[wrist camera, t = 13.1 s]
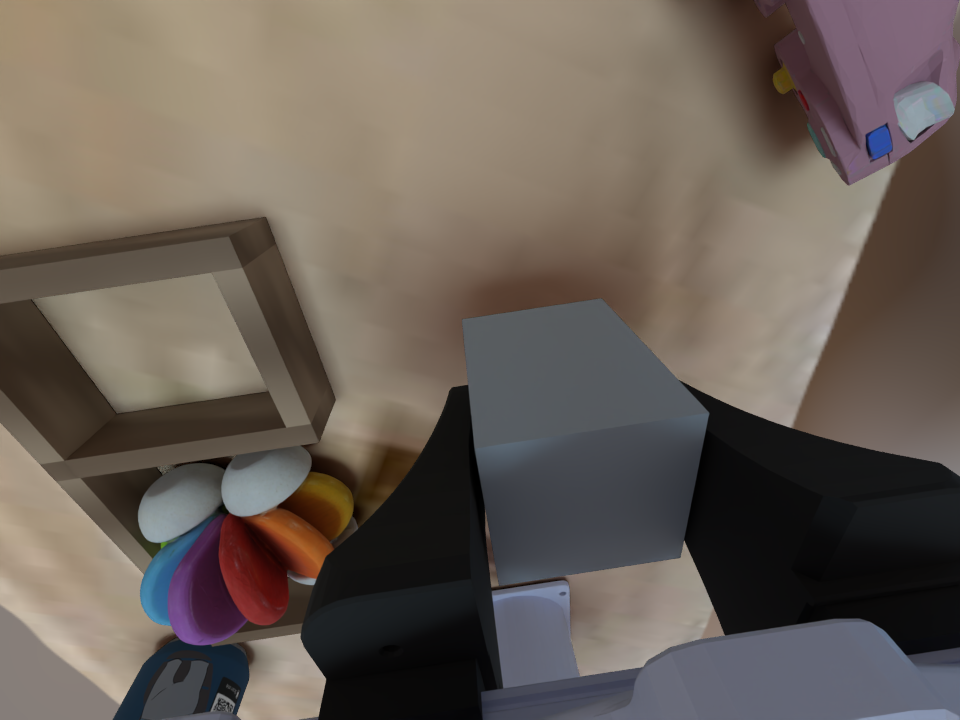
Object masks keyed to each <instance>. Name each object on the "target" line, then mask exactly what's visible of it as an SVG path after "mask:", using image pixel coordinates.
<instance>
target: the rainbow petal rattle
mask: <svg viewBox="0 0 960 720" xmlns="http://www.w3.org/2000/svg"><path fill="white" fill-rule="evenodd" d="M311 462H312V461H311V456H310V454H309V452H308V451H307V450H305V449H304V448H303V447H302V446H300V445H299V446H292V447H285V448H279V449H272V450H265V451H259V452H252V453H245V454H239V455H236V456H235V457H234V458H233V460H232V461H231V462H230V464H229V465H228V467H227V469H226V470H224V469H223V468H220V467H218V466H215V465H212V464H206V463H193V464H187V465H183V466H180V467H177V468H175V469H173V470H171V471H169V472H167V473H166V474H164V475H163V476H161V477H160V478H159V479H158V480H156V481H155V482H154V483H153V484H152V485H151V486H150V487H149V489H148V490H147V491H146V493H145V494H144V496H143V498H142V500H141V503H140V506H139V510H138V522H139V527H140V529H141V532H142V534H143V535H144V537H145V538H146V539H147V540H148V541H150V542H155V543H161V550H160V551H159V552H158V553H157V554H156V555H155V556H154V558H153V559H152V561H151V562H150V564H149V566H148V568H147V569H146V571H145V574H144V577H143V579H142V583H141V589H140V599H141V604H142V607H143V609H144V611H145V612H146V614H147V615H148V616H149V618H150V619H151V620H153V621H154V622H156V623H158V624H161V625H168V626H172V628H173V630H174V632H175V634H176V635H177V636H178V637H179V638H180V639H181V640H182V641H183V642H185V643H188V644H193V645H209V644H214V643H218V642H220V641H223V640H225V639H227V638H229V637H230V636H232V635H233V634H234V633H236V632H237V631H238V630H239V629H240V628H241V627H242V626H243V625H244V624H245V623H246V622H247V621H248V620H249V621H250V622H252V623H254V624H258V625H270V624H273V623H275V622H276V621H277V620H279V619H280V618H281V617H282V616H283V615H284V613H285V612H286V610H287V606H288V601H289V589H288V578H287V575H288V576H289V577H290V578H292V579H293V580H294V581H296V582H299V583H302V584H306V585H314V584H315V581H316V579H317V576H318V574H319V572H320V569H321V567H322V564H323V562H324V559H325V557H326V556H327V555H328V554H329V553H330V552H332V551H333V550H334V549H335V548H337V547H338V546H339V545H340V544H341V543H342V542H343V541H345V540H346V539H347V538H348V537H349V536H350V535H352V534H353V533H354V532H355V531H356V530H357V529H358V526H357V523H356V520H355V519H354V517H352V514H353V508H354V501H353V496H352V493H351V491H350V490H349V488H348V487H347V486H346V485H344V484H343V483H342V482H341V481H339V480H337V479H336V478H334V477H331V476H329V475H326V474H322V473H317V472H309V471H310V468H311Z"/></svg>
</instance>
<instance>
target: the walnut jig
mask: <svg viewBox="0 0 960 720" xmlns="http://www.w3.org/2000/svg"><path fill="white" fill-rule="evenodd" d="M205 273H212V274H213V277H214V279H215V281H216V283H217V285H218V287H219V289H220V291H221V293H222V295H223V297H224V299H225V301H226V303H227V306H228V308H229V310H230V312H231V314H232V316H233V318H234V320H235V322H236V324H237V326H238V328H239V330H240V332H241V335H242V337H243V339H244V341H245V343H246V345H247V347H248V349H249V351H250V353H251V355H252V357H253V359H254V361H255V364H256V366H257V368H258V370H259V372H260V374H261V376H262V378H263V380H264V382H265V384H266V386H267V388H268V390H269V392H264V393H257V394H250V395H243V396H237V397H230V398H223V399H217V400H210V401H203V402H196V403H190V404H183V405H176V406H169V407H163V408H156V409H149V410H142V411H136V412H129V413H122V414H116V413H115V412H114V410H113V409H112V408H111V406H110V405H109V404H108V402H107V401H106V400H105V398H104V397H103V396H102V394H101V393H100V392H99V390H98V389H97V388H96V386H95V385H94V384H93V382H92V381H91V380H90V378H89V377H88V376H87V374H86V373H85V372H84V370H83V369H82V368H81V366H80V365H79V364H78V362H77V361H76V360H75V358H74V357H73V356H72V354H71V353H70V352H69V350H68V349H67V348H66V346H65V345H64V344H63V342H62V341H61V340H60V338H59V337H58V335H57V334H56V333H55V331H54V330H53V329H52V327H51V326H50V325H49V323H48V322H47V321H46V319H45V318H44V317H43V315H42V314H41V313H40V311H39V310H38V309H37V307H36V306H35V305H34V303H33V302H32V301H31V299H35V298H42V297H49V296H56V295H62V294H69V293H76V292H83V291H90V290H96V289H103V288H110V287H117V286H124V285H130V284H137V283H144V282H151V281H157V280H164V279H171V278H178V277H185V276H191V275H198V274H205ZM334 403H335V397H334V394H333V392H332V389H331V386H330V384H329V381H328V379H327V376H326V373H325V371H324V368H323V366H322V363H321V360H320V358H319V355H318V353H317V350H316V347H315V345H314V342H313V340H312V337H311V334H310V332H309V329H308V327H307V324H306V321H305V319H304V316H303V313H302V311H301V308H300V306H299V303H298V300H297V298H296V295H295V293H294V290H293V287H292V285H291V282H290V280H289V277H288V274H287V272H286V269H285V267H284V264H283V261H282V259H281V256H280V253H279V251H278V248H277V246H276V243H275V240H274V238H273V235H272V233H271V230H270V227H269V225H268V222H267V220H266V217H263V218H256V219H249V220H242V221H235V222H229V223H222V224H215V225H208V226H201V227H195V228H188V229H181V230H174V231H167V232H161V233H154V234H147V235H140V236H133V237H126V238H120V239H113V240H106V241H99V242H92V243H86V244H79V245H72V246H65V247H58V248H51V249H45V250H38V251H31V252H24V253H17V254H11V255H4V256H0V423H1V424H2V425H3V426H4V427H5V428H6V429H7V430H8V431H9V432H10V433H11V435H12V436H13V437H14V438H15V439H16V440H17V441H18V442H19V443H20V444H21V445H22V446H23V447H24V448H25V449H26V450H27V451H28V452H29V453H30V455H31V456H32V457H33V458H34V459H35V460H36V461H37V462H38V463H39V464H40V465H41V466H42V467H43V468H44V469H45V470H46V471H47V472H48V474H49V475H50V476H51V477H52V478H53V479H54V480H55V481H56V482H57V483H58V484H59V485H60V486H61V487H62V488H63V489H64V490H65V491H66V493H67V494H68V495H69V496H70V497H71V498H72V499H73V500H74V501H75V502H76V503H77V504H78V505H79V506H80V507H81V508H82V509H83V510H84V512H85V513H86V514H87V515H88V516H89V517H90V518H91V519H92V520H93V521H94V522H95V523H96V524H97V525H98V526H99V527H100V528H101V529H102V530H103V532H104V533H105V534H106V535H107V536H108V537H109V538H110V539H111V540H112V541H113V542H114V543H115V544H116V545H117V546H118V547H119V548H120V549H121V551H122V552H123V553H124V554H125V555H126V556H127V557H128V558H129V559H130V560H131V561H132V562H133V563H134V564H135V565H136V566H137V567H138V568H139V570H140V571H141V572H142V573H143V574H145V571H146V569H147V568H148V566H149V564H150V562H151V561H152V559H153V558H154V556H155V555H156V554H157V553H158V552H159V551H160V550H161V543H155V542H150V541H148V540H147V539H146V538H145V537H144V535H143V534H142V532H141V529H140V527H139V522H138V510H139V506H140V503H141V500H142V498H143V496H144V494H145V493H146V491H147V490H148V489H149V487H150V486H151V485H152V484H153V483H154V482H155V481H156V480H158V479H159V478H160V477H161V476H162V475H161V473H160V472H159V471H158V469H157V468H156V467H158V466H165V465H172V464H178V463H185V462H192V461H198V460H205V459H212V458H218V457H225V456H232V455H239V454H245V453H252V452H259V451H265V450H272V449H279V448H285V447H292V446H299V445H306V444H312V443H319V442H320V439H321V436H322V434H323V431H324V429H325V426H326V424H327V421H328V418H329V416H330V413H331V411H332V408H333V405H334ZM313 587H314V585H306V584H302V583H299V582H296V581H294V580H293V579H292V578H288V589H289V601H288V606H287V610H286V612H285V613H284V615H283V616H282V617H281V618H280V619H279V620H277V621H276V622H275V623H273V624H270V625H258V624H254V623H252V622H250V621H249V620H248V621H247V622H246V623H245V624H244V625H243V626H242V627H241V628H240V629H239V630H238V631H237V632H236V633H234V634H233V635H232V636H230V637H229V638H227V639H225V640H223V641H220V642H218V643H214V644H211V645H212V647H213V646H219V645H226V644H233V643H239V642H246V641H252V640H259V639H266V638H272V637H279V636H285V635H292V634H299V633H301V629H302V624H303V621H304V617H305V614H306V610H307V607H308V603H309V600H310V596H311V593H312V589H313Z"/></svg>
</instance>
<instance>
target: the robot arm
mask: <svg viewBox="0 0 960 720" xmlns="http://www.w3.org/2000/svg"><path fill="white" fill-rule="evenodd" d="M679 381H680V380H679ZM680 382H681V383H682V384H683V385H684V386H685V388H686V389H687V390H688V391H689V392H690V393H691V394H692V395H693V396H694V397H695V398H696V399H697V400H698V401H699V402H700V403H701V405H702V406H703V407H704V408H705V409H706V410H707V411H708V412H709V417H708V422H707V427H706V432H705V437H704V442H703V447H702V452H701V457H700V462H699V467H698V472H697V477H696V482H695V487H694V492H693V497H692V502H691V507H690V512H689V517H688V522H687V527H686V532H685V537H684V541H685V543H686V545H687V547H688V550H689V552H690V554H691V556H692V558H693V561H694V563H695V565H696V567H697V570H698V572H699V574H700V576H701V578H702V581H703V583H704V586H705V588H706V590H707V593H708V595H709V597H710V600H711V602H712V605H713V607H714V609H715V612H716V614H717V616H718V619H719V621H720V624H721V627H722V629H723V632H724V634H725V636H719V637H713V638H706V639H699V640H695V641H692V642H688V643H684V644H681V645H677V646H674V647H670V648H668V649H666V650H665V651H663V652H661V653H660V654H658V655H656V656H654V657H653V658H651V659H649V660H648V661H647V662H646V664H645V665H644V667H641V668H635V669H628V670H621V671H615V672H608V673H602V674H595V675H589V676H582V677H580V675H579V671H578V667H577V663H576V659H575V655H574V651H573V646H572V642H571V638H570V588H569V584H568V582H567V581H564V580H561V581H554V582H548V583H541V584H535V585H528V586H521V587H515V588H508V589H501V590H495V591H492V589H491V581H490V572H489V563H488V555H487V546H486V532H485V504H484V498H483V493H482V487H481V482H480V476H479V470H478V465H477V459H476V454H475V448H474V438H473V427H472V417H471V407H470V397H469V387H468V385H464V386H458V387H452V388H451V390H450V391H449V394H448V398H447V401H446V404H445V406H444V409H443V411H442V414H441V416H440V418H439V420H438V422H437V425H436V427H435V429H434V431H433V433H432V435H431V437H430V438H429V440H428V442H427V444H426V446H425V447H424V449H423V451H422V453H421V454H420V456H419V457H418V459H417V460H416V462H415V463H414V465H413V466H412V468H411V469H410V471H409V472H408V474H407V475H406V476H405V478H404V479H403V480H402V481H401V483H400V484H399V485H398V487H397V488H396V489H395V490H394V492H393V493H392V494H391V495H390V496H389V497H388V499H387V500H386V501H385V502H384V503H383V504H382V505H381V506H380V507H379V508H378V509H377V510H376V511H375V513H374V514H373V515H372V516H371V517H370V518H369V519H368V520H367V521H366V522H365V523H364V524H363V525H362V526H361V527H360V528H358V529H357V530H356V531H355V532H354V533H353V534H352V535H350V536H349V537H348V538H347V539H346V540H345V541H343V542H342V543H341V544H340V545H339V546H338V547H337V548H335V549H334V550H333V551H332V552H330V553H329V554H328V555H327V556H326V557H325V559H324V562H323V564H322V567H321V569H320V572H319V574H318V576H317V579H316V581H315V584H314V587H313V589H312V593H311V596H310V600H309V603H308V607H307V610H306V614H305V617H304V621H303V624H302V629H301V640H302V643H303V645H304V647H305V649H306V650H307V652H308V653H309V655H310V656H311V658H312V659H313V660H314V662H315V663H316V665H317V666H318V668H319V669H320V670H321V672H322V673H323V675H324V676H325V678H326V684H325V689H324V694H323V698H322V703H321V708H320V713H319V717H314V718H307V719H301V720H960V476H958V475H957V474H955V473H954V472H953V471H951V470H949V469H948V468H947V467H945V466H943V465H942V464H940V463H936V462H932V461H927V460H921V459H916V458H910V457H906V456H900V455H895V454H889V453H885V452H879V451H875V450H870V449H866V448H862V447H857V446H853V445H849V444H845V443H841V442H837V441H834V440H830V439H826V438H822V437H819V436H815V435H812V434H809V433H805V432H802V431H799V430H795V429H792V428H789V427H786V426H783V425H780V424H777V423H774V422H771V421H769V420H766V419H763V418H761V417H758V416H756V415H753V414H750V413H748V412H745V411H743V410H740V409H738V408H735V407H733V406H731V405H729V404H727V403H724V402H722V401H720V400H718V399H716V398H713V397H711V396H709V395H707V394H705V393H703V392H701V391H699V390H697V389H695V388H693V387H691V386H689V385H687V384H685V383H684V382H682V381H680ZM162 720H241V719H240V718H239V717H238V716H236V715H234V714H232V713H230V712H224V711H212V712H205V713H199V714H192V715H186V716H179V717H173V718H166V719H162Z"/></svg>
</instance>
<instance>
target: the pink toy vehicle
mask: <svg viewBox="0 0 960 720" xmlns="http://www.w3.org/2000/svg"><path fill="white" fill-rule="evenodd" d="M754 2H755V3H756V5H757V7H758V9H759V10H760V12H761V13H762V14H763V16H764V17H768V16H769V15H770V14H772V13H773V12H774V11H775V10H777V9H778V8H779V7H781V6H782V5H783V4H784V3H786V6H787V8H788V10H789V12H790V15H791V17H792V19H793V22H794V24H795V26H796V29H795V30H793V31H792V32H791V33H789V34H788V35H787V36H785V37H784V38H783V39H782V40H780V41H779V42H778V43H776V44H775V45H774V48H775V53H776V56H777V58H778V61H779V63H780V65H781V67H782V68H781V69H780V70H778V71H777V72H776V73H774V75H773V83H774V86H775V88H776V89H777V90H778V92H779V93H781V94H785V93H786V92H788V91H790V90H791V89H792V90H793V92H794V94H795V96H796V97H797V99H798V101H799V102H800V104H801V106H802V108H803V109H804V111H805V113H806V115H807V117H808V123H807V127H808V130H809V132H810V135H811V137H812V139H813V141H814V143H815V145H816V147H817V149H818V151H819V152H820V154H821V155H822V157H824V158H828V159H829V160H830V161H831V164H832V166H833V168H834V169H835V170H836V172H837V173H838V174H839V176H840V177H841V179H842V180H843V181H844V182H845V183H846V184H847V185H851V184H853V183H855V182H857V181H859V180H861V179H863V178H865V177H867V176H868V175H870V174H872V173H874V172H876V171H878V170H880V169H882V168H884V167H886V166H888V165H890V164H892V163H893V162H895V161H897V160H898V159H900V158H901V157H903V156H904V155H906V154H908V153H909V152H911V151H912V150H913V149H914V148H916V147H917V146H918V145H919V144H921V143H922V142H923V141H924V140H925V139H927V138H928V137H929V136H930V135H932V134H933V133H934V132H935V131H936V130H938V129H939V128H940V127H941V126H942V125H944V124H945V123H946V122H947V120H948V119H949V118H950V116H951V115H953V114H954V109H955V105H956V100H957V91H956V70H957V68H958V65H959V60H960V45H959V43H958V42H957V41H956V40H955V38H954V37H953V21H954V18H955V14H956V10H957V6H958V3H959V0H754Z"/></svg>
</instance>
